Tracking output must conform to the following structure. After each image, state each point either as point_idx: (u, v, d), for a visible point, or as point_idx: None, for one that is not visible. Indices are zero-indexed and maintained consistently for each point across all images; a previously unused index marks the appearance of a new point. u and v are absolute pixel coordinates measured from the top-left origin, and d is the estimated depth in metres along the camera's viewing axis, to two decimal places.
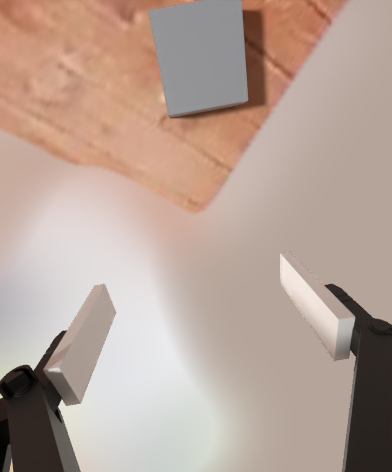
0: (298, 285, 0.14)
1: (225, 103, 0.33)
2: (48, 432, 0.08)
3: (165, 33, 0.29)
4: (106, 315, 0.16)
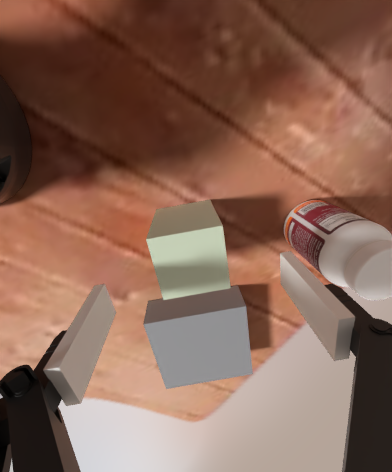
0: (298, 285, 0.14)
1: (228, 377, 0.30)
2: (48, 432, 0.08)
3: (162, 337, 0.27)
4: (106, 315, 0.16)
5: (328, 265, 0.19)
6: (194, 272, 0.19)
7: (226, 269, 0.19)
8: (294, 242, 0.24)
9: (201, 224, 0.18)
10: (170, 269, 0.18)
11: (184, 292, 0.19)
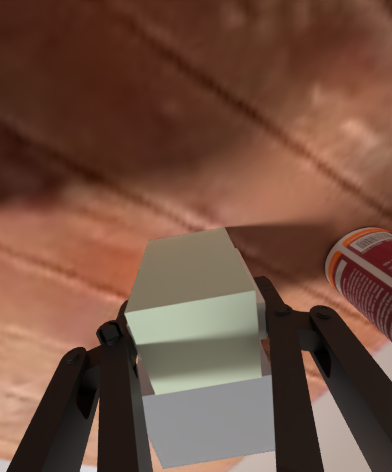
0: None
1: (244, 454, 0.23)
2: (127, 386, 0.09)
3: (156, 413, 0.19)
4: None
5: None
6: (204, 357, 0.11)
7: (257, 353, 0.12)
8: (346, 290, 0.16)
9: (217, 283, 0.11)
10: (166, 354, 0.11)
11: (188, 384, 0.12)
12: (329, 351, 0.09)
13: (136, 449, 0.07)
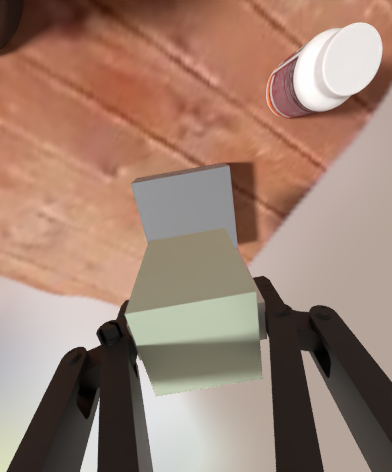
0: None
1: None
2: (127, 386, 0.09)
3: (149, 201, 0.28)
4: None
5: (301, 75, 0.20)
6: (205, 358, 0.11)
7: (257, 354, 0.12)
8: (274, 93, 0.25)
9: (218, 283, 0.11)
10: (166, 355, 0.11)
11: (188, 385, 0.12)
12: (329, 351, 0.09)
13: (136, 449, 0.07)
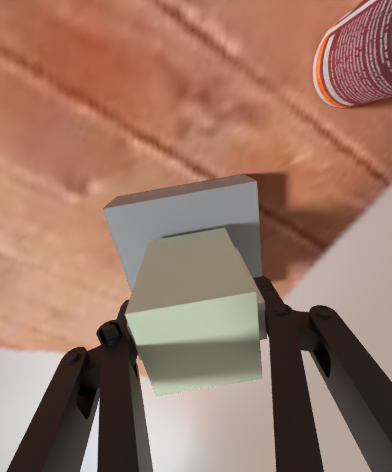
0: None
1: None
2: (127, 386, 0.09)
3: (132, 234, 0.18)
4: None
5: None
6: (205, 358, 0.11)
7: (257, 354, 0.12)
8: (334, 65, 0.15)
9: (218, 284, 0.11)
10: (166, 355, 0.11)
11: (188, 386, 0.12)
12: (329, 351, 0.09)
13: (136, 449, 0.07)
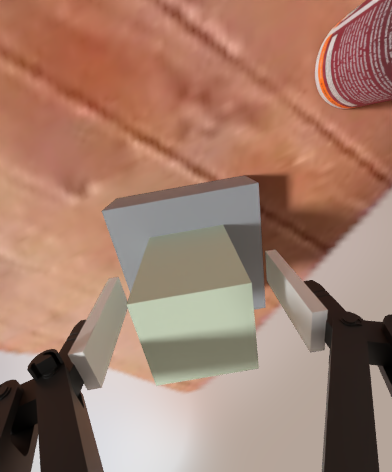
0: (280, 281, 0.14)
1: None
2: (71, 415, 0.08)
3: (132, 237, 0.18)
4: (120, 307, 0.16)
5: None
6: (203, 348, 0.12)
7: (253, 344, 0.12)
8: (337, 65, 0.15)
9: (215, 276, 0.11)
10: (166, 345, 0.12)
11: (187, 375, 0.13)
12: None
13: None
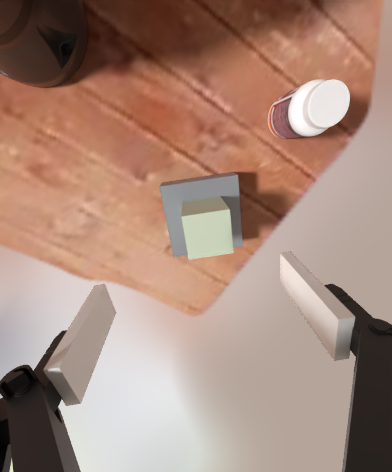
0: (298, 285, 0.14)
1: None
2: (48, 432, 0.08)
3: (173, 201, 0.35)
4: (106, 315, 0.16)
5: (294, 111, 0.27)
6: (210, 240, 0.29)
7: (231, 239, 0.29)
8: (274, 120, 0.32)
9: (215, 209, 0.28)
10: (194, 237, 0.28)
11: (202, 254, 0.29)
12: None
13: None
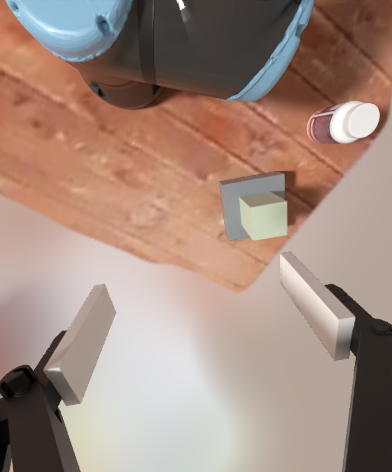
0: (298, 285, 0.14)
1: None
2: (48, 432, 0.08)
3: (232, 196, 0.43)
4: (106, 315, 0.16)
5: (335, 125, 0.35)
6: (270, 225, 0.38)
7: (286, 224, 0.38)
8: (314, 130, 0.40)
9: (274, 201, 0.37)
10: (259, 223, 0.37)
11: (263, 236, 0.38)
12: None
13: None
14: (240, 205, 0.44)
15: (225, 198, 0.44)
